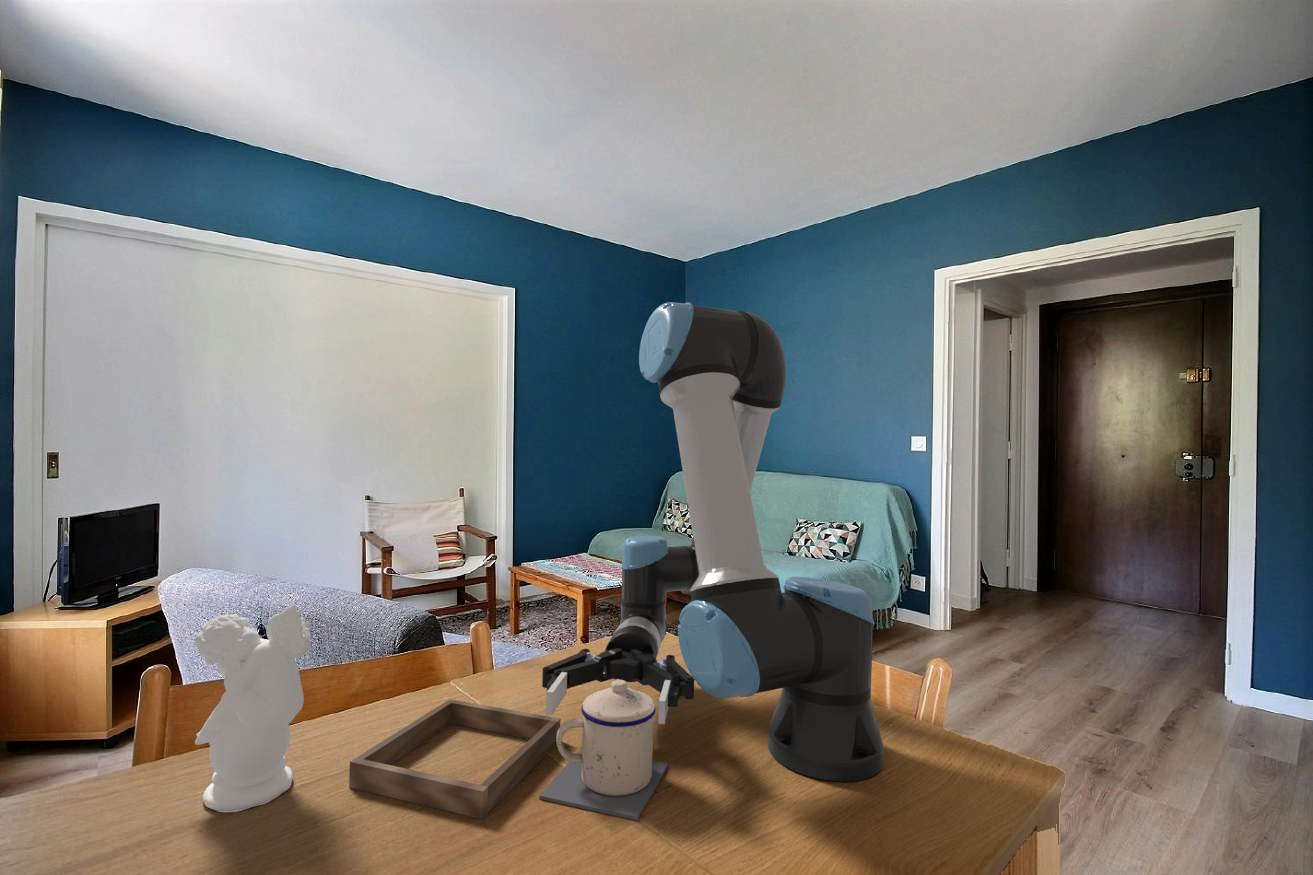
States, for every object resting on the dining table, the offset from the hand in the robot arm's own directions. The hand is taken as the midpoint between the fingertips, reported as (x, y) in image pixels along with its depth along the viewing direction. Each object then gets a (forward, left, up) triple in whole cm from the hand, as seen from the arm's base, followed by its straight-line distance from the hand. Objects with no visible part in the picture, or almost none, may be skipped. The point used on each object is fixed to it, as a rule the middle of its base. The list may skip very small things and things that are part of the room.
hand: (604, 707), depth 73 cm
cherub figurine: (+38, +12, -10) cm, 41 cm away
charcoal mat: (0, -2, -10) cm, 10 cm away
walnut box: (+19, 0, -10) cm, 22 cm away
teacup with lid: (0, -2, -10) cm, 10 cm away
